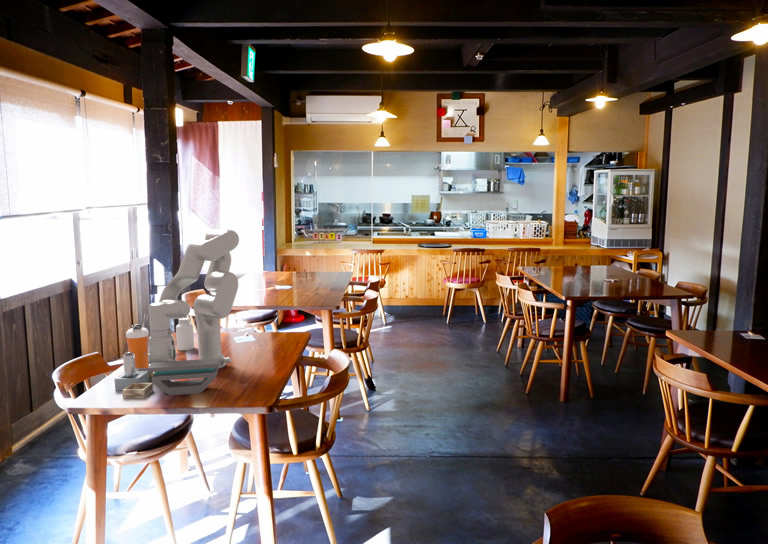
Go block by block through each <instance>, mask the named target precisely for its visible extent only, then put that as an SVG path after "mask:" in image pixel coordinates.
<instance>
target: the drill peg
mask: <svg viewBox="0 0 768 544" xmlns="http://www.w3.org/2000/svg"><path fill="white" fill-rule="evenodd" d="M122 357H123V359H122V360H123V369H124V371H123V373H125V378H135V377H136V369H135V355H134V354H133V352H129V351H127V352H126V351H125V352H124V354H123V355H122Z"/></svg>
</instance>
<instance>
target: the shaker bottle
mask: <svg viewBox="0 0 768 544" xmlns="http://www.w3.org/2000/svg"><path fill="white" fill-rule="evenodd" d="M149 333H150V330H148V328H146V327H144V324H142V323H140V324H139V323H137V324H132V325H131V328H129V329H128V330H126V332H125V338H126V342H127V343H126V344H127V350H128V351H127V352H133V354H134V355H135V368H148V367H149V366H150V364H149V363H148V362H149V360H148V341H149V337H150V334H149Z"/></svg>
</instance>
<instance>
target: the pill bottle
mask: <svg viewBox="0 0 768 544" xmlns="http://www.w3.org/2000/svg"><path fill="white" fill-rule="evenodd" d="M177 321H178V324H177V325H176V326H175V335H176V336H175V338H176V351H183V352H184V351H191V350H193V349H194V348H195V341H194V340H195V338H194V336H195V335H194V326H193V324H192V323H191V318H190V317H184V318H181V319H177Z"/></svg>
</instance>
